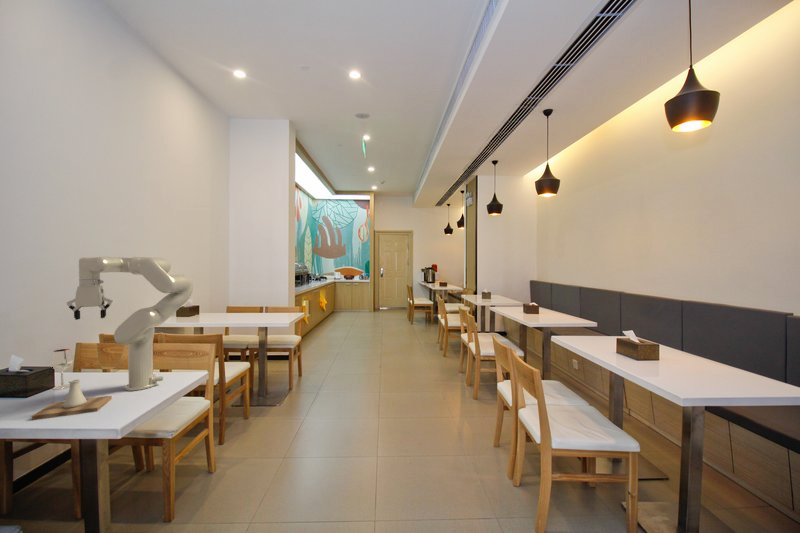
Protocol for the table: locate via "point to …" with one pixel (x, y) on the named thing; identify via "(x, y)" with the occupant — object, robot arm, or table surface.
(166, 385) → the table surface
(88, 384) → the table surface
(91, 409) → the walnut board
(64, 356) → the wineglass
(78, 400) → the flask
